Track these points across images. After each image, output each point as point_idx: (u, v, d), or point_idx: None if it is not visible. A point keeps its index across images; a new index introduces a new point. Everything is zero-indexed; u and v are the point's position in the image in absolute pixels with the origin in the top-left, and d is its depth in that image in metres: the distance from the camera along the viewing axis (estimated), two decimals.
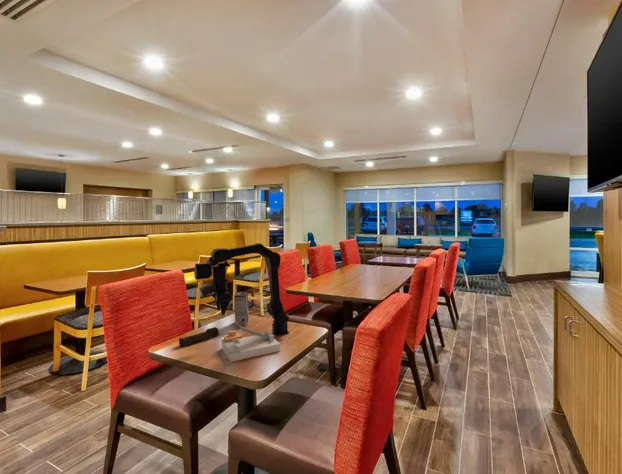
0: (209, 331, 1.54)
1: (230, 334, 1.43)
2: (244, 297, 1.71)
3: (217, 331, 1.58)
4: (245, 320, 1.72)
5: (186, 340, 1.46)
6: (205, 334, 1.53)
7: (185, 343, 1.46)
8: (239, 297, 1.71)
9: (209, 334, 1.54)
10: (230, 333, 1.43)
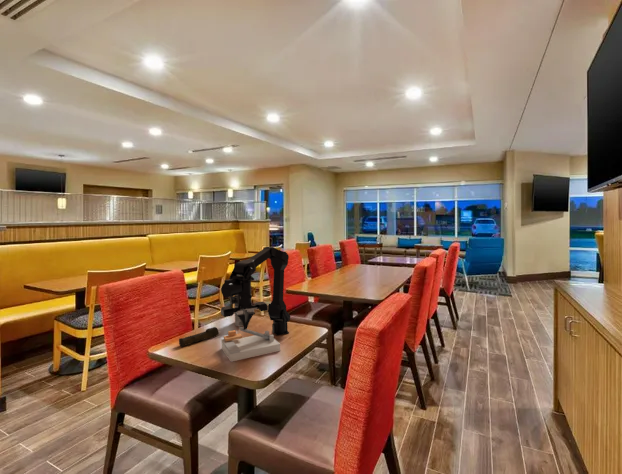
0: (209, 331, 1.54)
1: (230, 334, 1.43)
2: None
3: (217, 331, 1.58)
4: None
5: (186, 340, 1.46)
6: (205, 334, 1.53)
7: (185, 343, 1.46)
8: None
9: (209, 334, 1.54)
10: (230, 333, 1.43)
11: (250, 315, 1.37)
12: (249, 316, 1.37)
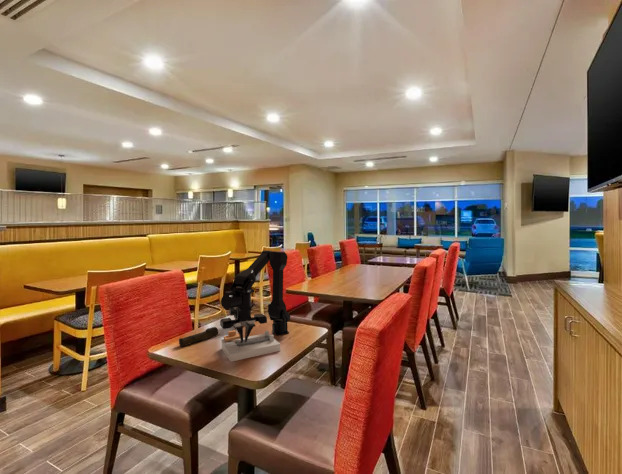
0: (209, 331, 1.55)
1: (230, 334, 1.43)
2: None
3: (216, 331, 1.58)
4: None
5: (186, 340, 1.46)
6: (205, 334, 1.53)
7: (185, 343, 1.46)
8: None
9: (209, 334, 1.54)
10: (230, 333, 1.43)
11: (250, 327, 1.38)
12: (249, 328, 1.37)
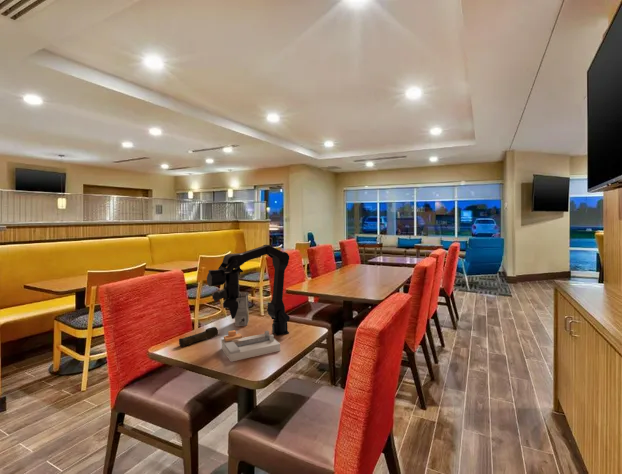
0: (209, 331, 1.55)
1: (230, 334, 1.43)
2: (244, 297, 1.71)
3: (216, 331, 1.58)
4: (245, 320, 1.72)
5: (186, 340, 1.46)
6: (205, 334, 1.53)
7: (185, 343, 1.46)
8: (239, 297, 1.71)
9: (209, 334, 1.55)
10: (230, 333, 1.43)
11: (239, 303, 1.47)
12: None
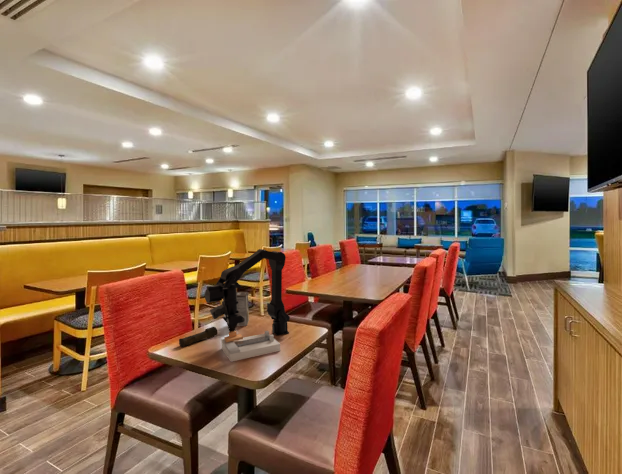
0: (208, 331, 1.55)
1: (231, 335, 1.42)
2: (244, 297, 1.71)
3: (216, 330, 1.59)
4: (245, 320, 1.72)
5: (187, 340, 1.46)
6: (204, 334, 1.53)
7: (186, 343, 1.46)
8: (239, 297, 1.71)
9: (208, 334, 1.55)
10: (231, 334, 1.42)
11: None
12: None
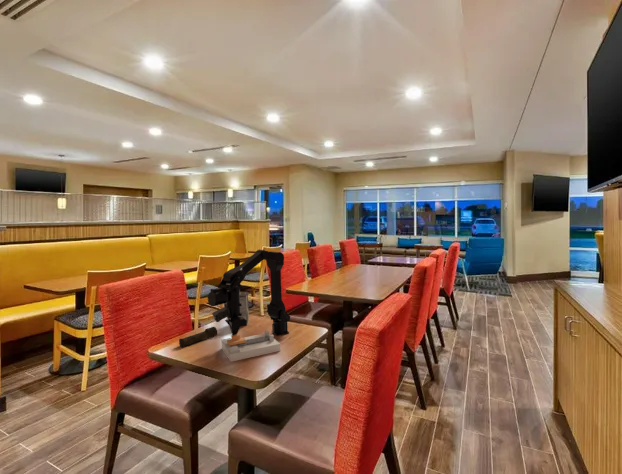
0: (208, 331, 1.55)
1: (233, 338, 1.38)
2: (244, 297, 1.71)
3: (215, 330, 1.59)
4: None
5: (187, 340, 1.46)
6: (204, 334, 1.53)
7: (186, 343, 1.45)
8: None
9: (208, 334, 1.55)
10: (233, 337, 1.38)
11: None
12: None
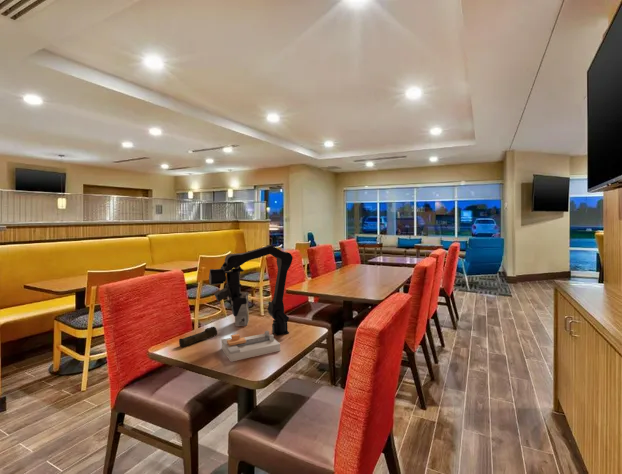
0: (208, 331, 1.55)
1: (233, 338, 1.38)
2: None
3: (215, 330, 1.59)
4: (245, 320, 1.72)
5: (187, 340, 1.46)
6: (204, 334, 1.53)
7: (186, 343, 1.45)
8: None
9: (208, 334, 1.55)
10: (233, 337, 1.38)
11: None
12: None
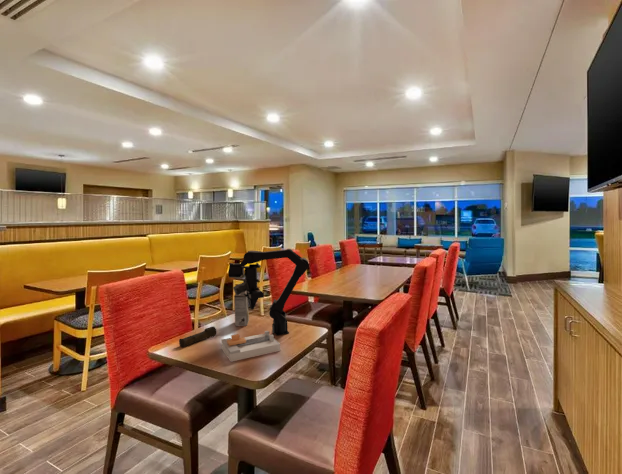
0: (208, 330, 1.55)
1: (233, 338, 1.38)
2: (244, 297, 1.71)
3: (215, 330, 1.59)
4: (245, 320, 1.72)
5: (187, 340, 1.46)
6: (204, 334, 1.53)
7: (186, 343, 1.45)
8: (239, 297, 1.71)
9: (208, 333, 1.55)
10: (233, 337, 1.38)
11: None
12: None
